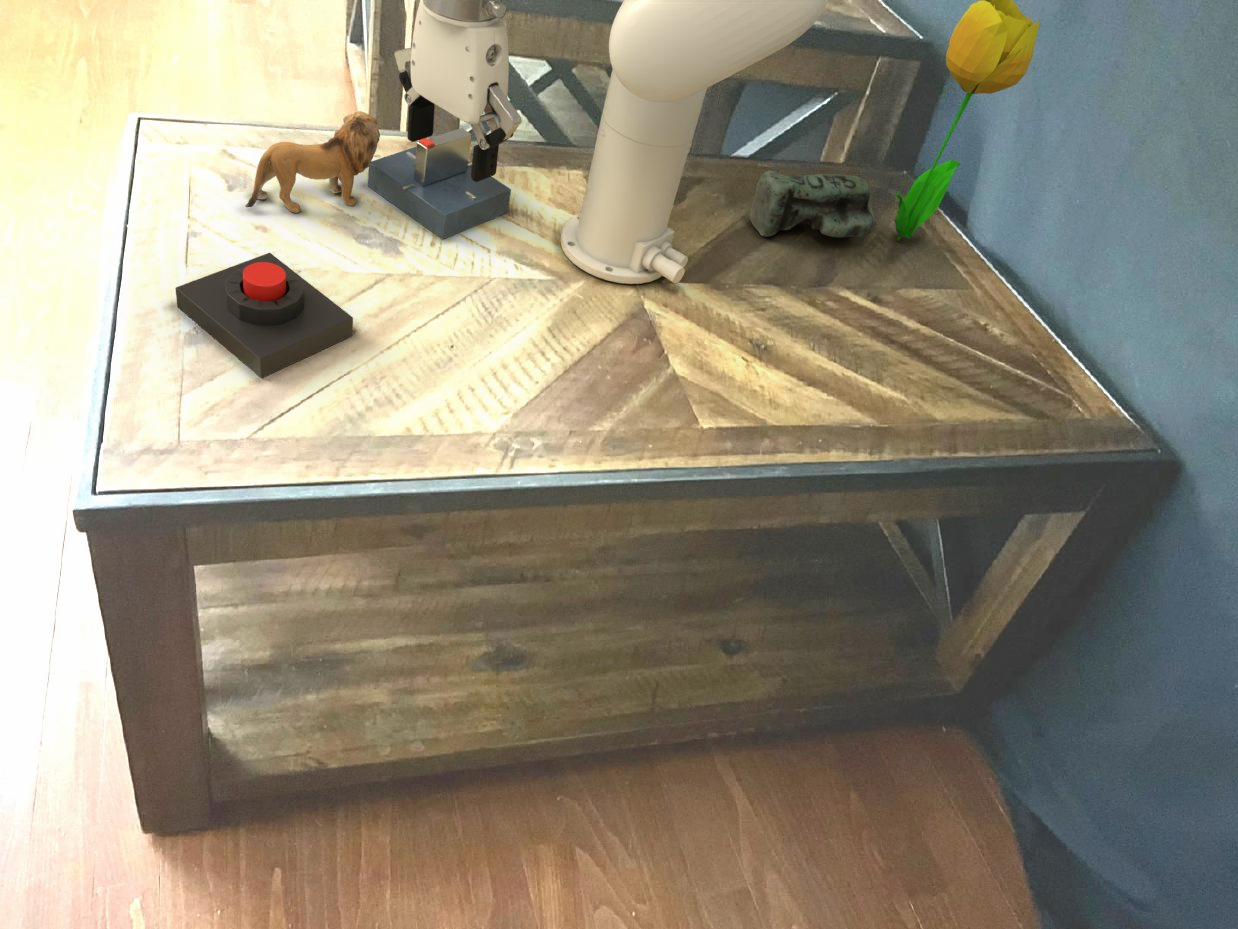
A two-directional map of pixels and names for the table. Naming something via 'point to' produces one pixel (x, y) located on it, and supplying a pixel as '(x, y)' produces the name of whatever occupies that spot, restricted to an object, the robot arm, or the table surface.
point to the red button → (264, 281)
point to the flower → (972, 88)
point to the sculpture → (813, 204)
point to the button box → (264, 318)
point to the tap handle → (442, 156)
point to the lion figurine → (320, 160)
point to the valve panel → (438, 195)
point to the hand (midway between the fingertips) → (451, 157)
